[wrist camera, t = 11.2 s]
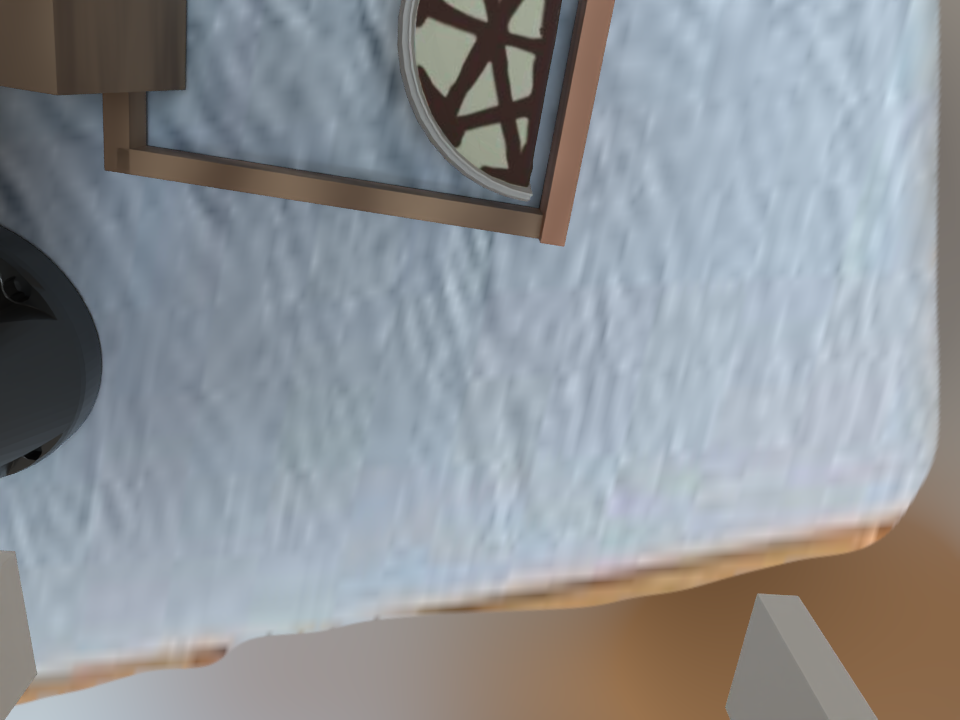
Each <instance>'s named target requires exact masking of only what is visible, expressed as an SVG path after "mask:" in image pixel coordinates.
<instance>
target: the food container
mask: <svg viewBox="0 0 960 720" xmlns="http://www.w3.org/2000/svg"><path fill="white" fill-rule="evenodd" d="M561 3H562V0H402V1H401V6H400V12H399V17H398V54H399V62H400V71H401V75H402V79H403V83H404V87H405V90H406V94H407V98H408V100H409V102H410V104H411V107H412V109H413V111H414V114H415V116H416V118H417V121H418V122H419V124H420V125H421V127H422V129H423V130H424V132H425V134H426V135H427V137H428V138H429V140H430V142H431V143H432V144H433V145H434V146H435V147H436V149H437V150H438V151H439V152H440V153H441V154H442V156H443V157H444V158H445V159H446V160H447V161H448V162H449V163H450V164H451V165H453V166H454V167H455V168H456V169H457V170H458V171H460V172H461V173H462V174H463V175H464V176H466V177H467V178H469V179H471V180H472V181H474V182H476V183H477V184H479V185H480V186H482V187H484V188H486V189H488V190H491V191H493V192H495V193H498V194H500V195H503V196H505V197H509V198H513V199H517V200H521V201H525V202H526V201H530V196H532V195H533V194H532V190H531V186H530V176H531V172H532V169H533V157H534V151H535V145H536V140H537V135H538V129H539V124H540V119H541V113H542V108H543V102H544V97H545V91H546V86H547V81H548V75H549V70H550V65H551V60H552V55H553V50H554V44H555V39H556V33H557V27H558V21H559V15H560V9H561Z"/></svg>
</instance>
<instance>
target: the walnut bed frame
mask: <svg viewBox="0 0 960 720" xmlns="http://www.w3.org/2000/svg"><path fill="white" fill-rule="evenodd" d="M614 3H615V0H579V3H578V8H577V13H576V19H575V24H574V29H573V34H572V40H571V45H570V50H569V55H568V61H567V66H566V71H565V76H564V82H563V87H562V92H561V98H560V103H559V108H558V113H557V119H556V124H555V129H554V134H553V140H552V145H551V150H550V155H549V161H548V166H547V171H546V176H545V182H544V187H543V192H542V198H541V203H540V208H532V207H526V206H520V205H514V204H508V203H501V202H495V201H489V200H483V199H476V198H470V197H464V196H458V195H452V194H445V193H439V192H433V191H427V190H420V189H414V188H408V187H402V186H396V185H389V184H383V183H377V182H371V181H364V180H358V179H352V178H346V177H340V176H333V175H327V174H321V173H315V172H308V171H302V170H296V169H290V168H284V167H277V166H271V165H265V164H259V163H252V162H246V161H240V160H234V159H228V158H221V157H215V156H209V155H203V154H196V153H190V152H184V151H178V150H172V149H165V148H159V147H153V146H147V145H146V91H166V90H185V61H186V0H0V86H4V87H10V88H16V89H22V90H28V91H35V92H41V93H47V94H53V95H74V94H97V93H102V95H103V132H104V168H105V170H106V171H112V172H119V173H125V174H131V175H138V176H144V177H150V178H157V179H163V180H169V181H176V182H182V183H188V184H195V185H201V186H208V187H214V188H220V189H227V190H233V191H239V192H246V193H252V194H258V195H265V196H271V197H277V198H284V199H290V200H296V201H303V202H309V203H315V204H322V205H328V206H335V207H341V208H347V209H354V210H360V211H366V212H373V213H379V214H385V215H392V216H398V217H404V218H411V219H417V220H423V221H430V222H436V223H442V224H449V225H455V226H462V227H468V228H474V229H481V230H487V231H493V232H500V233H506V234H512V235H519V236H525V237H531V238H538V239H539V240H540V243H545V244H551V245H558V246H564V245H565V240H566V235H567V230H568V226H569V221H570V216H571V211H572V206H573V201H574V197H575V192H576V187H577V182H578V177H579V172H580V167H581V163H582V158H583V153H584V148H585V143H586V138H587V133H588V129H589V124H590V119H591V114H592V109H593V104H594V100H595V95H596V90H597V85H598V80H599V75H600V70H601V66H602V61H603V56H604V51H605V46H606V41H607V37H608V32H609V27H610V22H611V17H612V12H613V7H614Z"/></svg>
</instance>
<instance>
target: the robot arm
mask: <svg viewBox="0 0 960 720" xmlns="http://www.w3.org/2000/svg"><path fill="white" fill-rule="evenodd" d="M100 380H101V352H100V346H99V341H98V337H97V333H96V330H95V327H94V324H93V322H92V319H91V317H90V314H89V312H88V310H87V308H86V306H85V304H84V303H83V301H82V299H81V297H80V296H79V294H78V293H77V291H76V290H75V288H74V287H73V286H72V284H71V283H70V282H69V280H68V279H67V278H66V277H65V275H64V274H63V273H62V272H61V271H60V270H59V269H58V268H57V267H56V266H55V265H54V264H53V262H51V261H50V260H49V259H48V258H47V257H46V256H45V255H44V254H43V253H41V252H40V251H39V250H38V249H36V248H35V247H34V246H32V245H31V244H30V243H28V242H27V241H25V240H24V239H22V238H21V237H19V236H17V235H16V234H14V233H12V232H11V231H9V230H7V229H5V228H3V227H1V226H0V478H2V477H5V476H8V475H11V474H14V473H17V472H19V471H22V470H24V469H26V468H28V467H30V466H32V465H34V464H36V463H38V462H39V461H41V460H42V459H44V458H46V457H47V456H48V455H50V454H51V453H52V452H54V451H55V450H56V449H57V448H58V447H59V446H60V445H61V444H62V443H64V442H65V441H66V440H67V439H68V438H69V437H70V436H71V435H72V434H73V433H75V432H76V430H77V429H78V428H79V427H80V426H81V425H82V423H83V422H84V421H85V420H86V418H87V416H88V415H89V413H90V411H91V409H92V407H93V405H94V403H95V400H96V397H97V394H98V390H99V386H100ZM36 675H37V671H36V666H35V660H34V654H33V649H32V643H31V638H30V632H29V626H28V621H27V615H26V610H25V604H24V599H23V593H22V587H21V582H20V576H19V571H18V565H17V559H16V554H15V551H0V720H5V718H6V717H7V716H8V714H9V713H10V711H11V710H12V709H13V707H14V706H15V704H16V703H17V702H18V700H19V699H20V697H21V696H22V695H23V693H24V692H25V690H26V689H27V688H28V686H29V685H30V683H31V682H32V681H33V679H34V678H35V676H36ZM725 708H726V710H727V713H728V715H729V717H730V720H878V719H877V717H876V716H875V714H874V713H873V711H872V709H871V708H870V706H869V705H868V703H867V702H866V700H865V699H864V697H863V696H862V694H861V692H860V691H859V689H858V688H857V686H856V685H855V683H854V682H853V680H852V679H851V677H850V675H849V674H848V672H847V671H846V669H845V668H844V666H843V665H842V663H841V662H840V660H839V658H838V657H837V655H836V654H835V652H834V651H833V649H832V647H831V646H830V645H829V643H828V641H827V640H826V638H825V637H824V636H823V634H822V632H821V630H820V629H819V627H818V626H817V624H816V623H815V621H814V620H813V618H812V617H811V615H810V613H809V612H808V610H807V609H806V607H805V606H804V604H803V603H802V601H801V600H800V598H799V596H790V595H772V594H757V597H756V600H755V604H754V607H753V611H752V614H751V618H750V622H749V625H748V629H747V633H746V636H745V639H744V643H743V647H742V650H741V654H740V657H739V661H738V664H737V668H736V672H735V675H734V678H733V682H732V686H731V689H730V693H729V696H728V700H727V703H726V707H725Z"/></svg>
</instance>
